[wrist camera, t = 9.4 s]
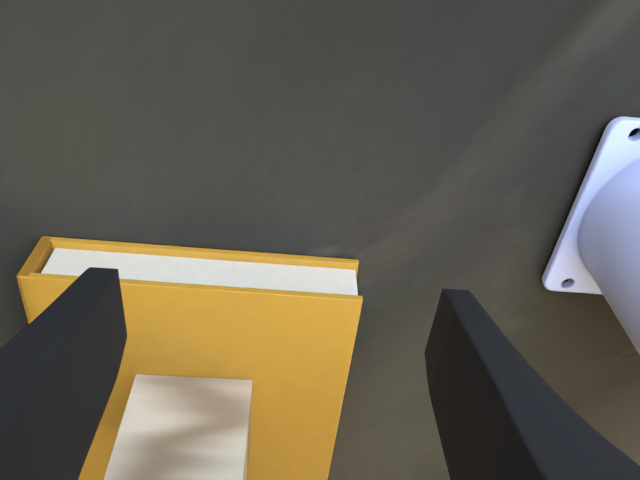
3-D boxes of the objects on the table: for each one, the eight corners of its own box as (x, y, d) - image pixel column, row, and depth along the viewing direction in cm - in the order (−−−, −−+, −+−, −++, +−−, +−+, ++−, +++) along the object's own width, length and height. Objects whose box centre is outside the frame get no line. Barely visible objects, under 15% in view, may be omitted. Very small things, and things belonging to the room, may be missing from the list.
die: (252, 379, 25) (241, 491, 21) (250, 448, 28) (239, 558, 24) (135, 373, 25) (100, 486, 21) (145, 444, 28) (116, 555, 24)
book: (358, 259, 25) (363, 300, 23) (317, 484, 35) (318, 527, 33) (41, 235, 24) (15, 276, 22) (91, 473, 34) (77, 517, 32)
